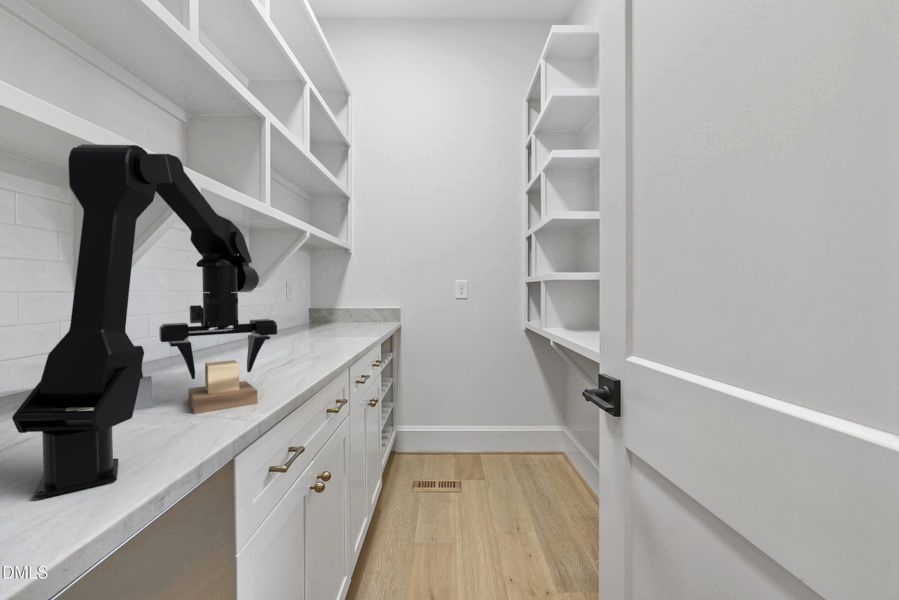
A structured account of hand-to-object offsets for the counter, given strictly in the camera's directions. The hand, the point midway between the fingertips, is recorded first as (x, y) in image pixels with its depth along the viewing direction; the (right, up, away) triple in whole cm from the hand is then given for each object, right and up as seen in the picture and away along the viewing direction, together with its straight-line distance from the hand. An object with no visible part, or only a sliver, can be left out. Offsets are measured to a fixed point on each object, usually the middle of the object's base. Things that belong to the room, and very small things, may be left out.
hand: (222, 375), depth 75 cm
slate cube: (-15, -5, -2) cm, 16 cm away
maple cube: (0, -3, 0) cm, 3 cm away
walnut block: (0, -6, 0) cm, 6 cm away
